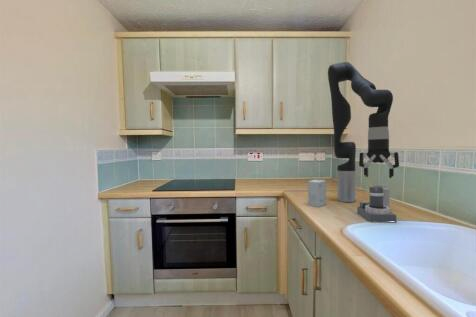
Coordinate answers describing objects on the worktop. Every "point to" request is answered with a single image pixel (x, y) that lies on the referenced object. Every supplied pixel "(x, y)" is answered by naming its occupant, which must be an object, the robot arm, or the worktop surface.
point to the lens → (376, 197)
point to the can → (385, 193)
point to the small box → (317, 193)
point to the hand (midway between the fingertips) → (378, 177)
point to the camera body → (375, 212)
